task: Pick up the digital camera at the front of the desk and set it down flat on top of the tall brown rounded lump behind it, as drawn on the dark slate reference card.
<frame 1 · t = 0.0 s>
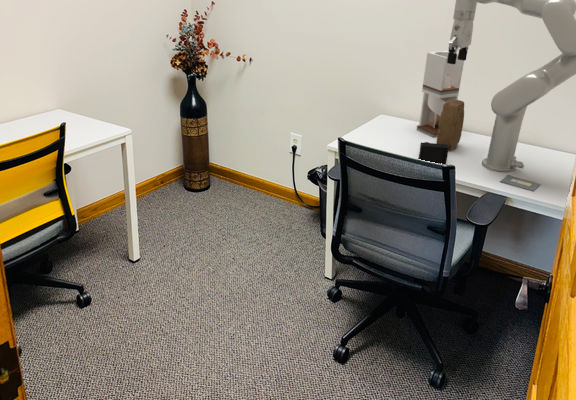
hand: (456, 61, 210), 37 cm above the table, tool pointing down, fingers open, 9 cm apart
reference card: (520, 183, 199), on the table
brown rounded lump: (447, 147, 231), on the table
toilet paper holder: (433, 132, 248), on the table
digital camera: (431, 161, 217), on the table
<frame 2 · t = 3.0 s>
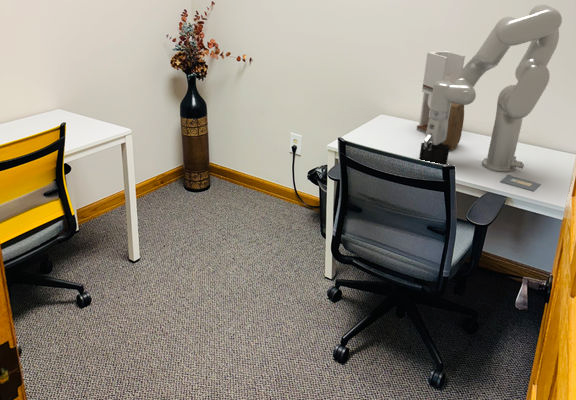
hand: (432, 155, 216), 2 cm above the table, tool pointing down, fingers open, 9 cm apart
nothing on the table moved.
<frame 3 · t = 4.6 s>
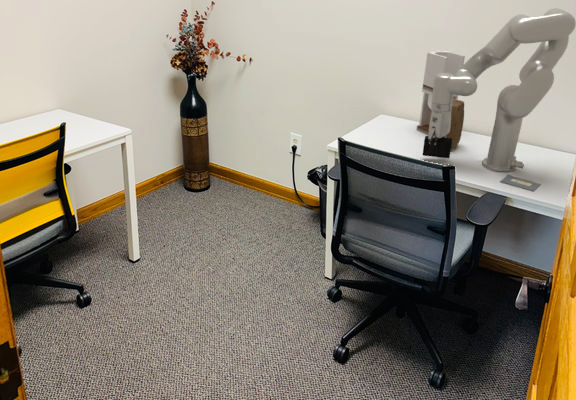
hand: (436, 150, 214), 4 cm above the table, tool pointing down, fingers closed on digital camera, 6 cm apart
digital camera: (436, 155, 215), point 2 cm above the table, touching gripper
everything else where it was.
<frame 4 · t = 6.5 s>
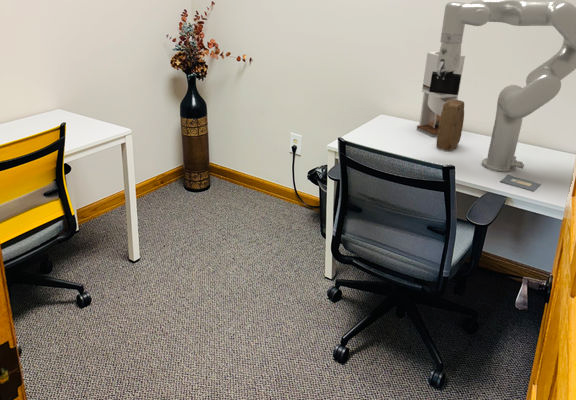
hand: (444, 87, 204), 29 cm above the table, tool pointing down, fingers closed on digital camera, 6 cm apart
digital camera: (443, 92, 205), point 27 cm above the table, touching gripper
everything else where it was.
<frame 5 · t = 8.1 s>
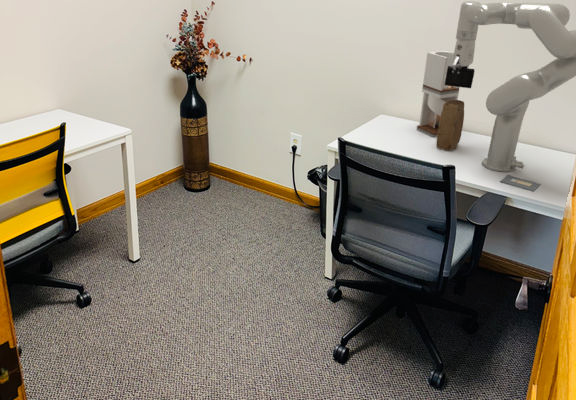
hand: (458, 81, 219), 28 cm above the table, tool pointing down, fingers closed on digital camera, 6 cm apart
digital camera: (457, 85, 219), point 26 cm above the table, touching gripper
everything else where it was.
when the fingers open (22 cm above the table, at t = 9.4 s): digital camera stays where it is, resting on brown rounded lump.
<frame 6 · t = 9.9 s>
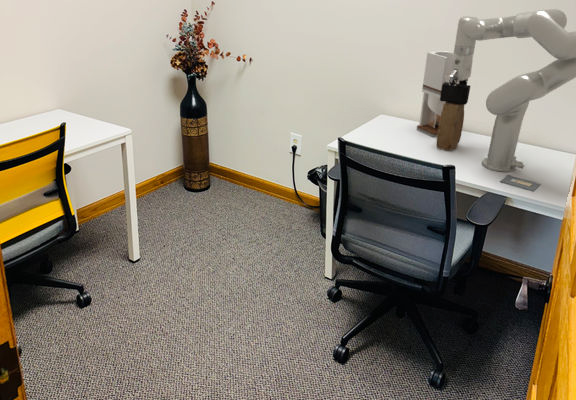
hand: (456, 93, 221), 23 cm above the table, tool pointing down, fingers open, 9 cm apart
brown rounded lump: (447, 147, 231), on the table, touching digital camera
digital camera: (454, 101, 222), point 20 cm above the table, touching brown rounded lump
everything else where it was.
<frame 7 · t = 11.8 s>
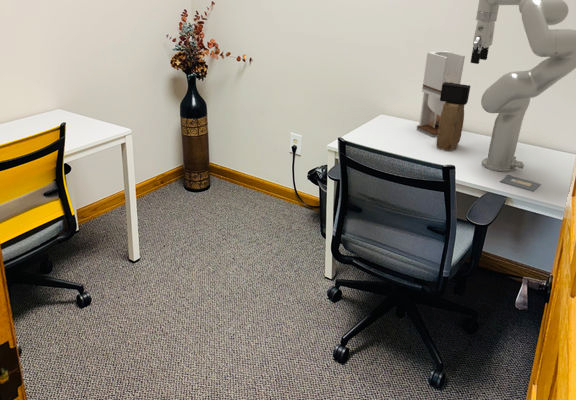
hand: (478, 61, 218), 36 cm above the table, tool pointing down, fingers open, 9 cm apart
nothing on the table moved.
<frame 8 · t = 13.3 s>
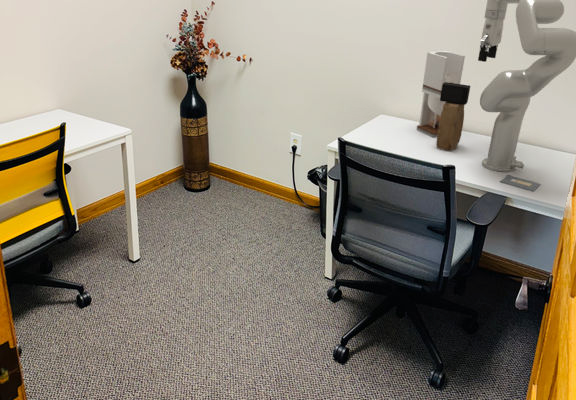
hand: (486, 59, 219), 36 cm above the table, tool pointing down, fingers open, 9 cm apart
nothing on the table moved.
at the end: digital camera 0.8 cm off-centre on the brown rounded lump, point 20.0 cm above the brown rounded lump's base; the gripper is holding nothing; digital camera tilted 0° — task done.
